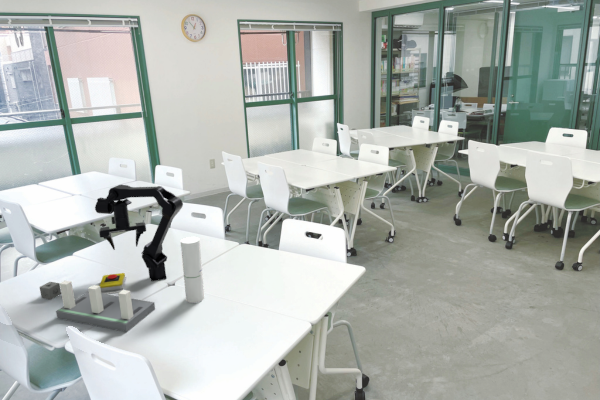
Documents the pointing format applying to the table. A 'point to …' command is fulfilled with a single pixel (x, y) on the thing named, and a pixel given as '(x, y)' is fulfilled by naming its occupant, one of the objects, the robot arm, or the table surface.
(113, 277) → the emergency button
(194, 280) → the cylindrical container
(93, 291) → the handle
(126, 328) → the slotted peg board
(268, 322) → the table surface
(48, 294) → the dice cube
